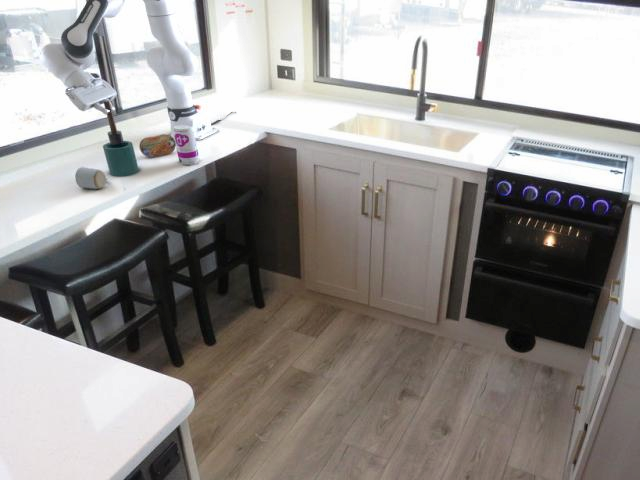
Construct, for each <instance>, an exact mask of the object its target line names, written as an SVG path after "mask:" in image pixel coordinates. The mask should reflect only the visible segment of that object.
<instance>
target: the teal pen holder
mask: <svg viewBox="0 0 640 480" xmlns="http://www.w3.org/2000/svg"><path fill="white" fill-rule="evenodd" d="M123 141H124V142H123V143H121V144H110V141H109V142H106V143H105V144H103V145H102V149H103V151H104V152H103V153H104V155H105V161H106V164H107V167H108V171H109V174H110V175H111V176H114V177H127V176H132V175H135V174H136V173H138V172H139V165H138V161H137V157H136V152H135V148H134V144H133V142H132V141H129V140H123Z"/></svg>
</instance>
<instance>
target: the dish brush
mask: <svg viewBox="0 0 640 480" xmlns="http://www.w3.org/2000/svg"><path fill="white" fill-rule="evenodd" d="M103 102H104V104H103V107H104V108H107V109H108V110H109V111H110V112H109V113H108V114H106V117H107V121H108V125H109V130H110V131H108V132H107V137H108V141H109V142H110V144H121V143H123V142H124V141H125V140H124V137H123V132H122V131H121V130H118V128H117V125H116V121H115V117H114V111H113V112H112V108H111V104H112V103H111V104H110V102H111V101H109V100H105V101H103Z"/></svg>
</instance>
